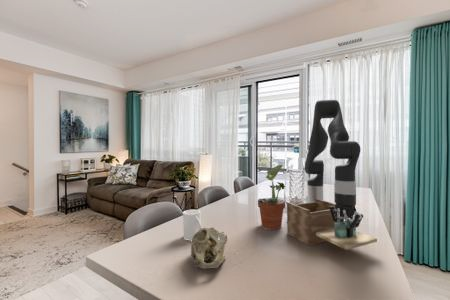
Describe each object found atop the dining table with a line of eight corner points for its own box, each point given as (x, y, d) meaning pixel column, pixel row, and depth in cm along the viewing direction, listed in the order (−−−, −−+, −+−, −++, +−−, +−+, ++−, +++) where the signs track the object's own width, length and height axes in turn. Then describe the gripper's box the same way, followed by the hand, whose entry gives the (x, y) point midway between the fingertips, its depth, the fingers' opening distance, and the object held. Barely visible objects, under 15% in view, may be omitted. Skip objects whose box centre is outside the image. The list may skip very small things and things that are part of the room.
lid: (316, 235, 90) (315, 220, 90) (344, 229, 97) (344, 215, 96) (346, 249, 77) (346, 232, 77) (376, 241, 84) (376, 225, 83)
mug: (207, 240, 99) (207, 214, 99) (189, 245, 94) (189, 217, 94) (196, 232, 109) (196, 208, 109) (180, 236, 104) (179, 211, 104)
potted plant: (292, 226, 115) (292, 159, 115) (274, 233, 106) (273, 161, 105) (269, 218, 127) (268, 158, 127) (251, 225, 118) (250, 159, 117)
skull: (235, 278, 76) (193, 282, 69) (214, 246, 94) (180, 248, 88) (241, 247, 75) (199, 248, 69) (219, 221, 93) (185, 221, 87)
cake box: (287, 233, 106) (286, 202, 106) (317, 227, 113) (316, 198, 113) (308, 245, 93) (308, 210, 93) (340, 238, 100) (340, 205, 100)
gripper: (323, 189, 92) (324, 230, 92) (354, 196, 79) (355, 244, 79) (336, 188, 95) (337, 228, 95) (368, 194, 82) (369, 240, 82)
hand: (345, 235), depth 87 cm, fingers closed on lid, 3 cm apart
